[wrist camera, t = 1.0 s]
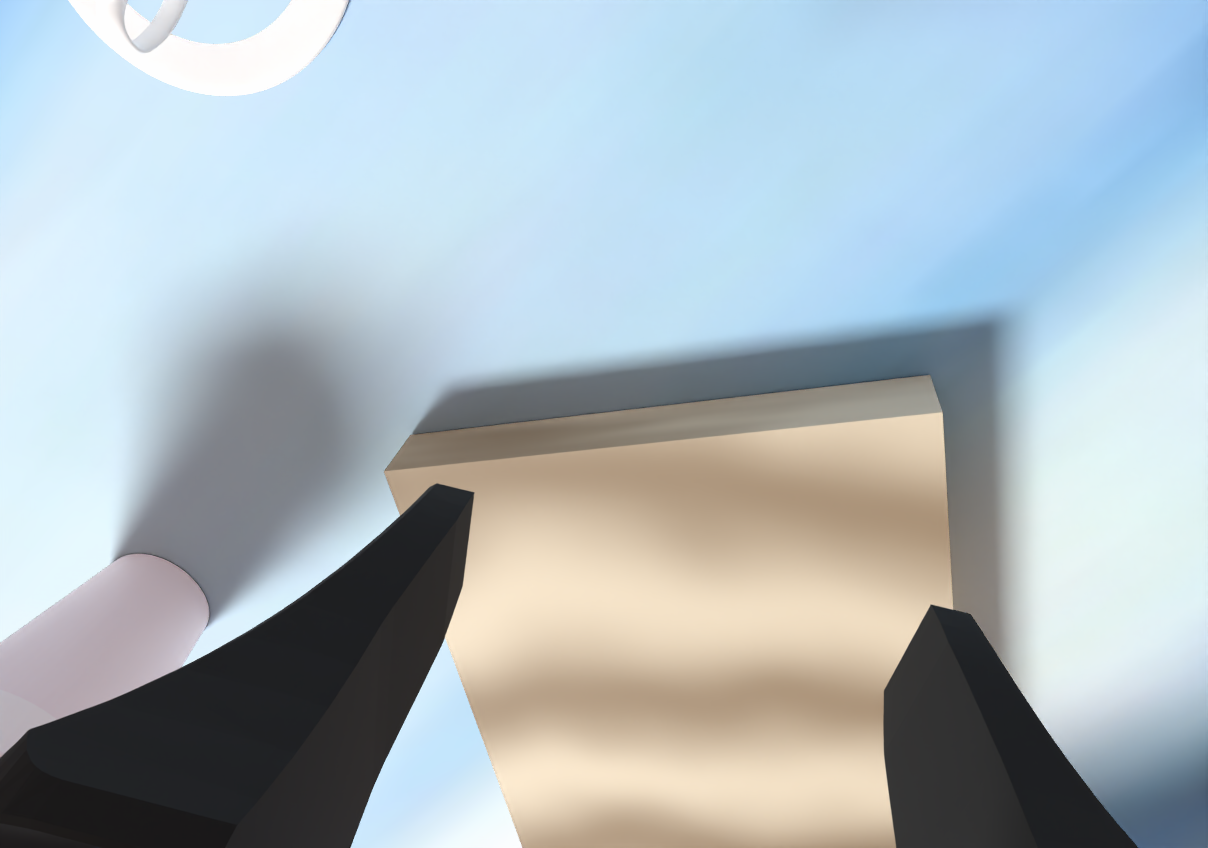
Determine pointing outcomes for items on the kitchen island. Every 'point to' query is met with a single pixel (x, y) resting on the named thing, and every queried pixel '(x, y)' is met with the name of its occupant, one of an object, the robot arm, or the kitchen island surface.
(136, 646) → the smoothie
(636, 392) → the kitchen island surface
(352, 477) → the kitchen island surface
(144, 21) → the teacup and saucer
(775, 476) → the base board
